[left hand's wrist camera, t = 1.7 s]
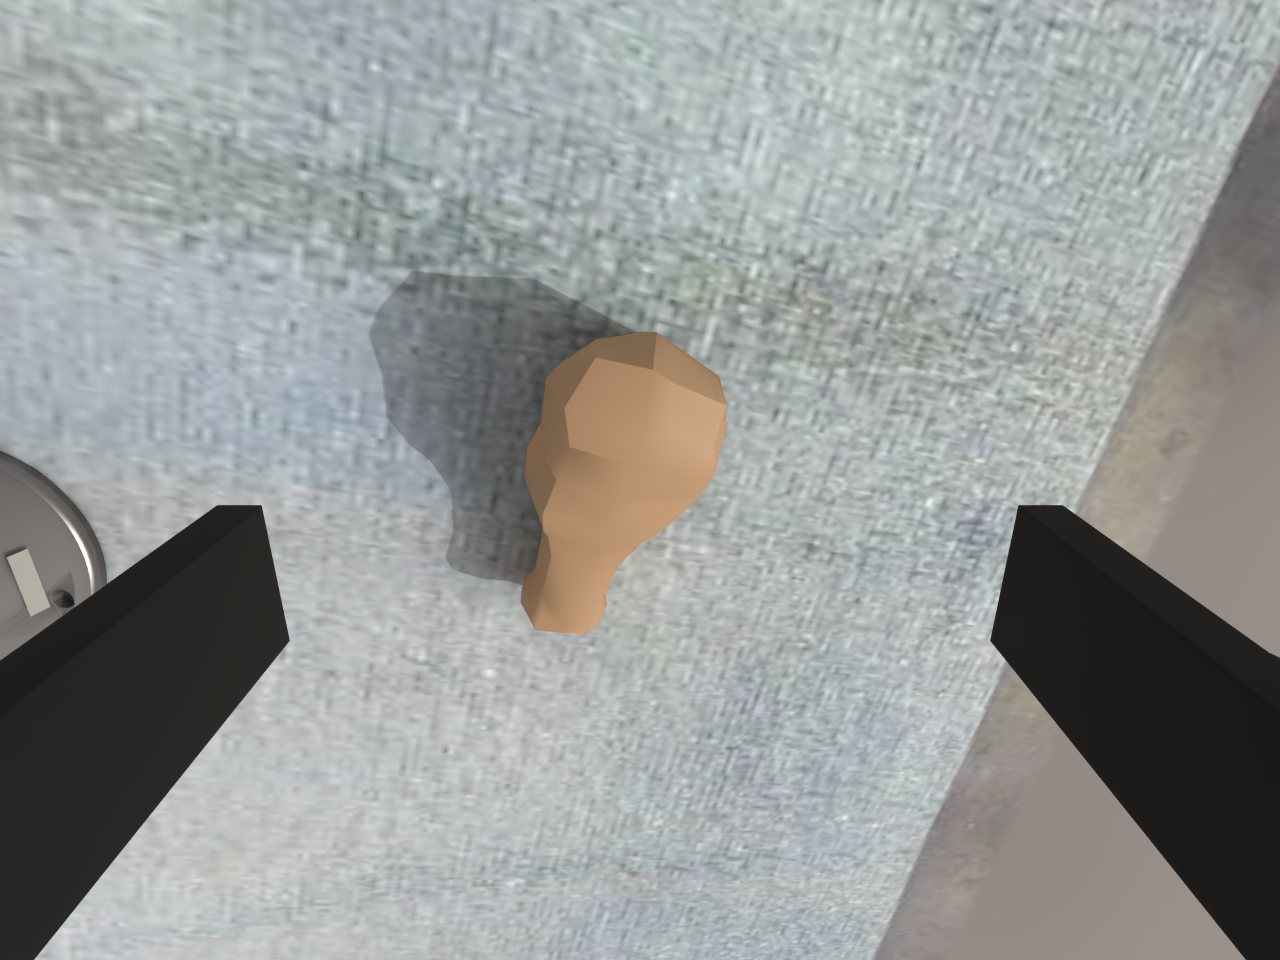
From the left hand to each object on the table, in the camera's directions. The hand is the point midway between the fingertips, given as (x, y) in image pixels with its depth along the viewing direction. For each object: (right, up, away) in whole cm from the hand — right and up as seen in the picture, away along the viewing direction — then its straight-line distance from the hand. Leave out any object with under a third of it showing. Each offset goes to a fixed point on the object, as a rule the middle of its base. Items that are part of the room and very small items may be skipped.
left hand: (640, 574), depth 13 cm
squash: (-2, +2, +32) cm, 32 cm away
